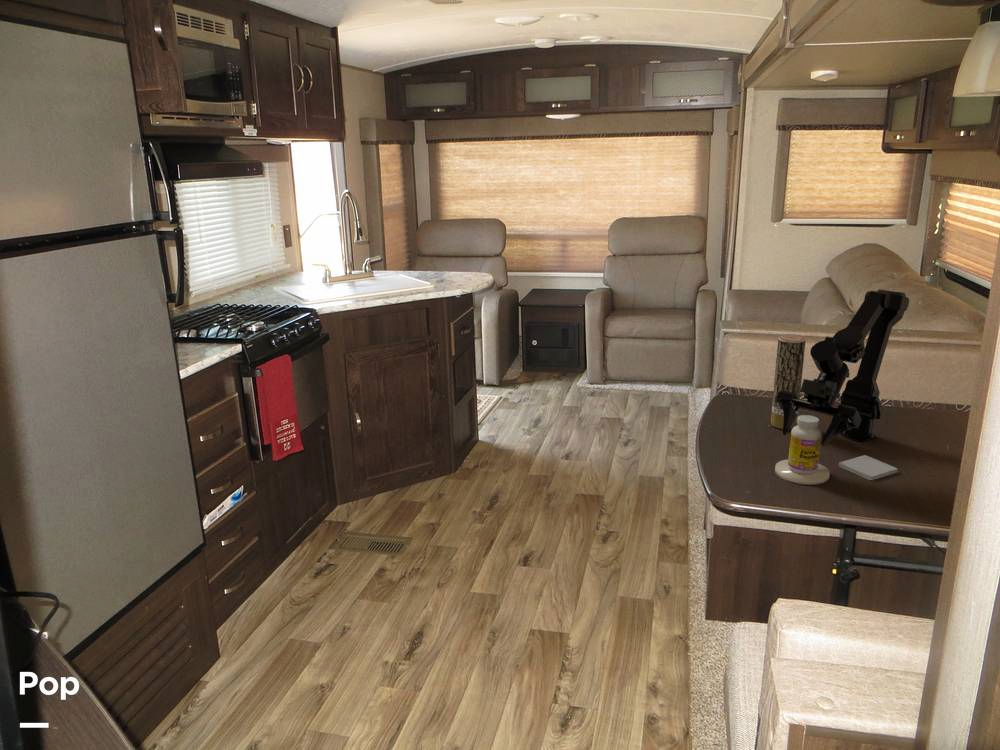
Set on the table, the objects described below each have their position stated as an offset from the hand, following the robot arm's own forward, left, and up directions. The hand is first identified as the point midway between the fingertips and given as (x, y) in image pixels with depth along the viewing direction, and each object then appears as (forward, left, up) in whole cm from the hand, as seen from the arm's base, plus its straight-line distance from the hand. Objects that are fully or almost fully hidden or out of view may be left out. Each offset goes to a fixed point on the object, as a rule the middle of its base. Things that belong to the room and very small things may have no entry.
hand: (802, 439), depth 175 cm
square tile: (-16, +6, -9) cm, 19 cm away
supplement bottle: (-1, -1, -8) cm, 8 cm away
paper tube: (-20, -24, -9) cm, 33 cm away
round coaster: (-1, 0, -9) cm, 9 cm away
